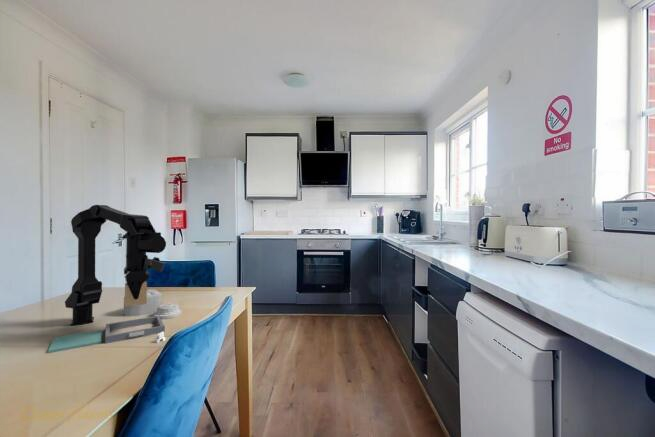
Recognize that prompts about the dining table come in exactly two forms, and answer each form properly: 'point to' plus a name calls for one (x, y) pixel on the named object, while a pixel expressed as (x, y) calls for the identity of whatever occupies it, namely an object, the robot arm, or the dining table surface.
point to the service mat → (75, 341)
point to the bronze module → (141, 299)
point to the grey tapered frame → (137, 332)
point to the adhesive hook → (159, 337)
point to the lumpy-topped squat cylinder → (145, 305)
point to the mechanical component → (167, 310)
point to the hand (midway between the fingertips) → (135, 297)
